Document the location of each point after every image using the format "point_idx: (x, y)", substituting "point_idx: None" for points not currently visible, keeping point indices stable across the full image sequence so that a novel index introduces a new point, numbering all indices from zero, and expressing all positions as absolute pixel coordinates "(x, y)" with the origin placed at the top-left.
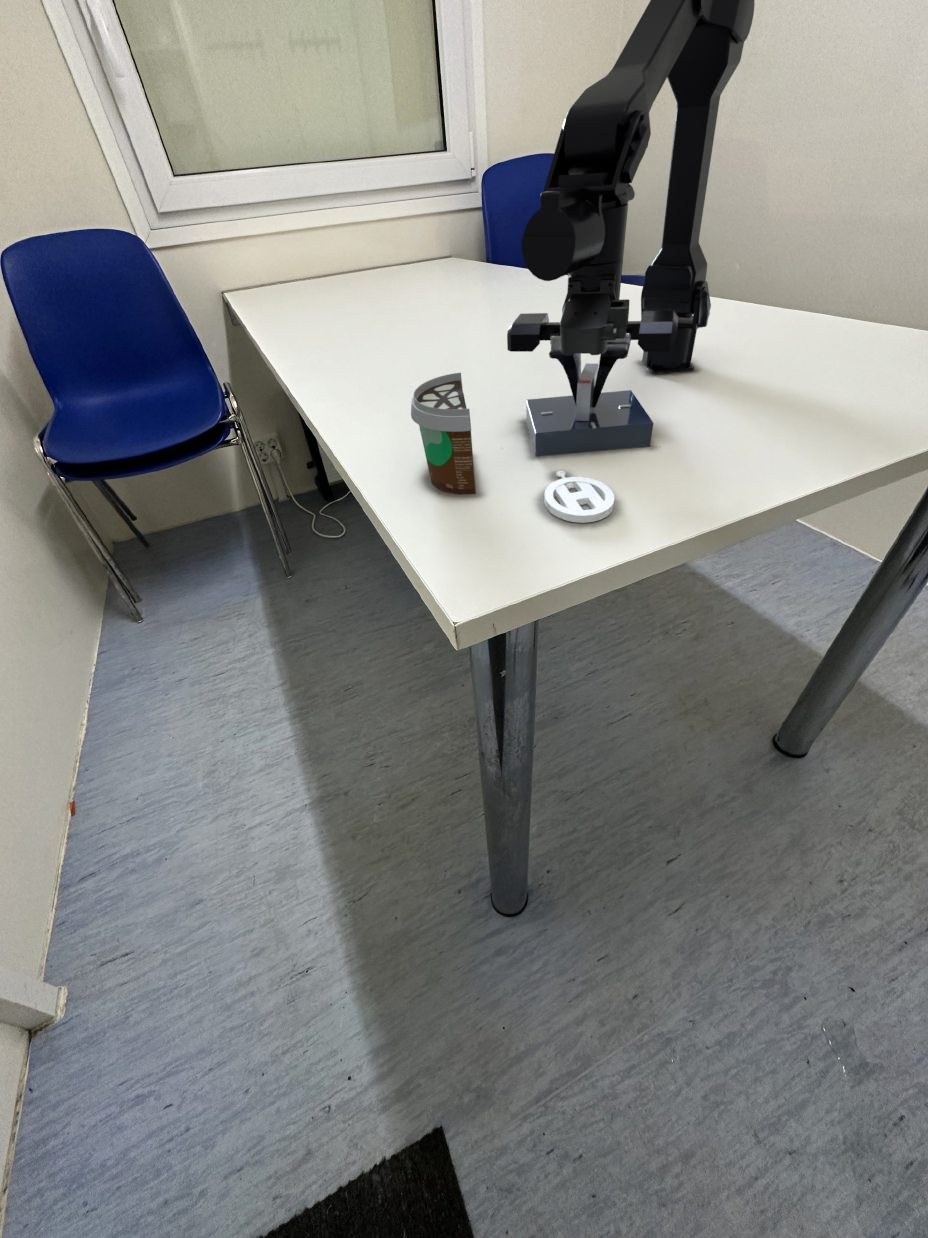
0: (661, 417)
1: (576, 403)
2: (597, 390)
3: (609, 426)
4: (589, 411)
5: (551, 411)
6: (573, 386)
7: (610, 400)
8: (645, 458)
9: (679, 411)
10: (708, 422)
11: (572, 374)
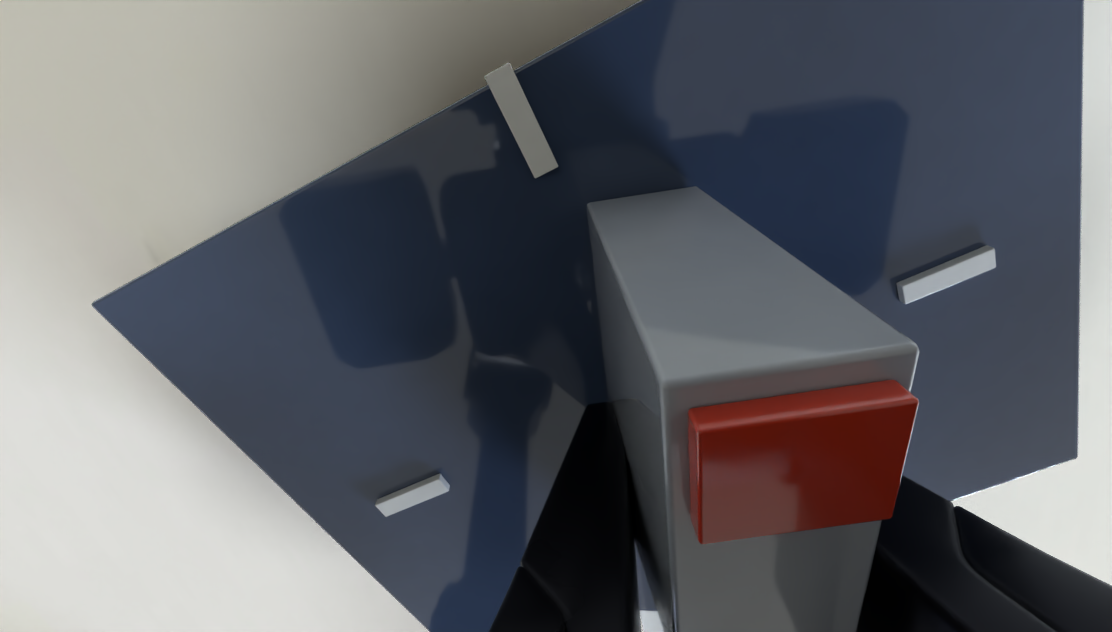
0: (317, 546)
1: (758, 230)
2: (589, 488)
3: (383, 145)
4: (596, 236)
5: (905, 320)
6: None
7: None
8: (144, 67)
9: (272, 604)
10: (99, 548)
11: (1005, 592)
